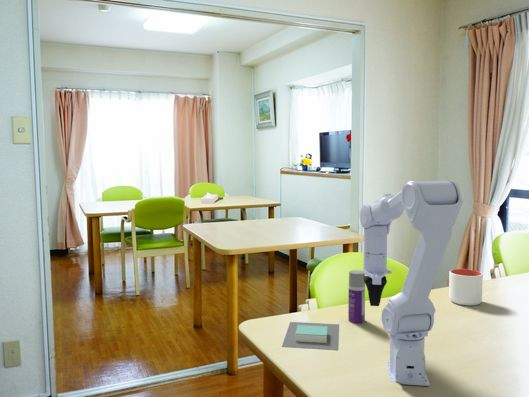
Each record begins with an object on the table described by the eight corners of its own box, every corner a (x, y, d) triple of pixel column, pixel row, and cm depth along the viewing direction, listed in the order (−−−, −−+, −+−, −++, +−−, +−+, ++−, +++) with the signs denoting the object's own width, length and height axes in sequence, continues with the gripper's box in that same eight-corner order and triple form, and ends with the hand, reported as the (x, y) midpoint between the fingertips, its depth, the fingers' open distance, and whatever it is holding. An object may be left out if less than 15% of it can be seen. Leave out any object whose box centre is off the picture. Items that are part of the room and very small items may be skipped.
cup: (442, 300, 153) (442, 270, 153) (463, 296, 158) (464, 267, 157) (466, 308, 144) (467, 277, 144) (488, 304, 149) (489, 274, 148)
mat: (338, 352, 112) (338, 350, 112) (281, 349, 114) (281, 346, 114) (339, 326, 130) (339, 324, 129) (290, 323, 132) (290, 321, 132)
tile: (326, 335, 116) (327, 326, 122) (295, 333, 118) (297, 324, 124) (326, 342, 116) (327, 333, 123) (295, 341, 118) (297, 332, 124)
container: (346, 323, 132) (346, 272, 130) (351, 318, 136) (351, 269, 135) (362, 326, 129) (362, 274, 128) (366, 321, 134) (367, 271, 132)
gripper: (394, 258, 106) (393, 315, 108) (388, 247, 121) (388, 297, 122) (363, 258, 108) (363, 314, 109) (361, 246, 122) (361, 296, 123)
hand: (374, 305), depth 115 cm, fingers closed
